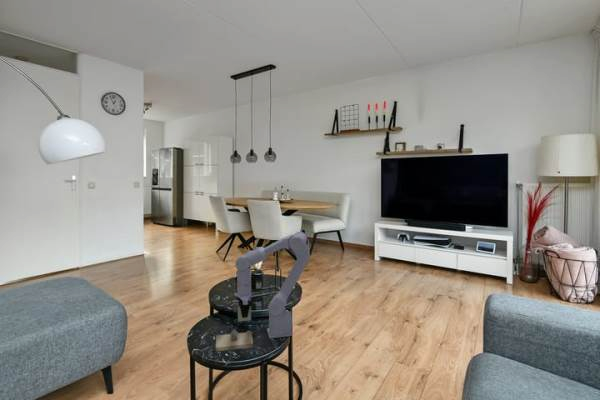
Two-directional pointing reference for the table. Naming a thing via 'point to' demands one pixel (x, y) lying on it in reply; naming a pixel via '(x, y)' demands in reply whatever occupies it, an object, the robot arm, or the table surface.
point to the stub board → (234, 341)
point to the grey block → (241, 315)
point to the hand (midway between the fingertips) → (244, 314)
